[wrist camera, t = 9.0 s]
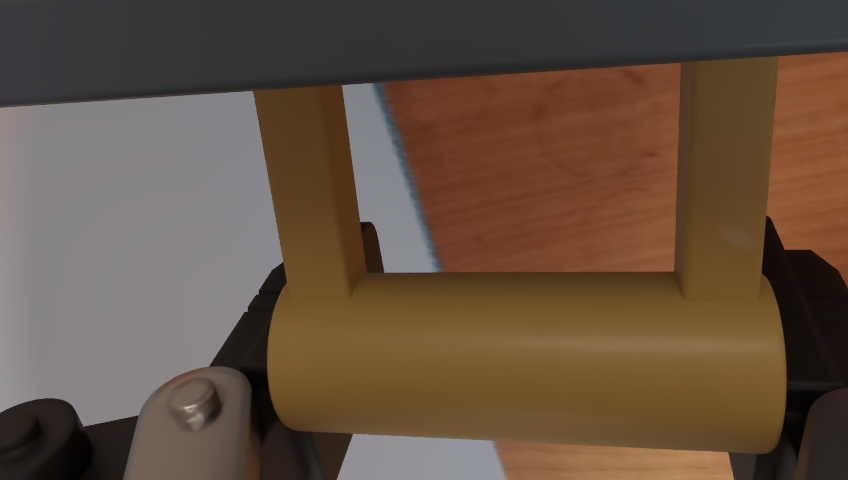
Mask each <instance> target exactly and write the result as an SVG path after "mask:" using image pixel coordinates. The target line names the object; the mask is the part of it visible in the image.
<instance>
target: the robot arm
mask: <svg viewBox="0 0 848 480" xmlns="http://www.w3.org/2000/svg"><path fill="white" fill-rule="evenodd" d="M360 226H361V233H362V241H363V248H364V256H365V263H366V271H367V273H384V268H383V263H382V257H381V252H380V247H379V241H378V236H377V232H376V229H375V227H374V225H373V224H372V223H371V222H360ZM762 274H763V275H764V276H765V277H766V278H767V280H768V281H769V283H770V285H771V287H772V290H773V292H774V295H775V298H776V301H777V304H778V308H779V312H780V317H781V322H782V328H783V335H784V343H785V353H786V371H787V391H786V408H785V417H784V423H783V428H782V432H781V435H780V439H779V441H778V444H777V446H776V448H775V449H774V450H773V451H772V452H769V453H766V454H754V453H734V452H728V453H729V458H730V462H731V467H732V471H733V476H734V480H848V288H847V286H846V284H845V282H844V280H843V279H842V277H841V275H840V273H839V271H838V270H837V269H835V268H834V267H833V266H831V265H830V264H829V263H827V262H826V261H825V260H823V259H822V258H821V257H819V256H818V255H817V254H815V253H814V252H813V251H811V250H785V249H784V247H783V245H782V243H781V240H780V238H779V236H778V234H777V231H776V229H775V227H774V225H773V222H772V220H771V218H770V217H769V216H766V223H765V236H764V248H763V261H762ZM286 284H287V279H286V273H285V268H284V262H283V263H281V264H280V265H279V266H277V267H276V268H275V269H273V270H272V271H271V273H270V274H269V276H268V278H267V279H266V280H265V282H264V283H263V285H262V287H261V288H260V290H259V295H256V296H255V297H254V299H253V300H252V302H251V303H250V305H249V306H248V312H245V313H244V314H243V316H242V317H241V319H240V320H239V322H238V323H237V325H236V327H235V328H234V329H233V331H232V332H231V334H230V336H229V337H228V338H227V340H226V342H225V343H224V345H223V346H222V348H221V349H220V351H219V352H218V354H217V355H216V357H215V358H214V360H213V361H212V363H211V364H210V366H209V367H205V368H199V369H196V370H192V371H189V372H186V373H184V374H181V375H179V376H177V377H175V378H173V379H171V380H170V381H168V382H166V383H165V384H164V385H162V386H161V387H160V388H158V389H157V390H156V391H155V392H154V393H153V394H152V395H151V396H150V397H149V398H148V399H147V401H146V402H145V404H144V405H143V407H142V409H141V411H140V414H139V415H138V416H134V417H129V418H124V419H119V420H114V421H110V422H105V423H100V424H95V425H90V426H85V427H83V425H82V423H81V421H80V419H79V417H78V415H77V413H76V411H75V409H74V408H73V406H72V405H70V404H69V403H68V402H66V401H63V400H60V399H53V398H52V399H51V398H49V399H48V398H46V399H37V400H33V401H28V402H25V403H22V404H19V405H16V406H14V407H11V408H9V409H7V410H5V411H3V412H1V413H0V480H337V477H338V474H339V471H340V469H341V466H342V463H343V460H344V457H345V455H346V452H347V449H348V446H349V443H350V441H351V438H352V435H353V434H350V433H330V432H310V431H295V430H292V429H290V428H288V427H287V426H285V425H284V424H283V423H282V422H281V421H280V419H279V417H278V416H277V414H276V411H275V409H274V406H273V403H272V399H271V395H270V390H269V384H268V374H267V348H268V337H269V330H270V325H271V320H272V316H273V312H274V308H275V305H276V303H277V300H278V298H279V295H280V293H281V291H282V290H283V288H284V286H285V285H286Z"/></svg>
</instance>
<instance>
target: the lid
mask: <svg viewBox="0 0 848 480" xmlns="http://www.w3.org/2000/svg"><path fill="white" fill-rule="evenodd" d="M847 51H848V0H0V108H1V107H16V106H31V105H45V104H61V103H75V102H91V101H106V100H121V99H136V98H151V97H167V96H181V95H196V94H212V93H227V92H242V91H253V92H254V98H255V104H256V109H257V115H258V120H259V126H260V132H261V138H262V143H263V149H264V155H265V160H266V165H267V171H268V177H269V183H270V188H271V194H272V199H273V205H274V211H275V217H276V222H277V228H278V234H279V239H280V245H281V251H282V256H283V262H284V268H285V273H286V279H287V284H286V285H285V286H284V288H283V290H282V291H281V293H280V295H279V298H278V300H277V303H276V305H275V308H274V312H273V316H272V320H271V325H270V330H269V337H268V348H267V374H268V384H269V390H270V395H271V399H272V403H273V406H274V409H275V411H276V414H277V416H278V417H279V419H280V421H281V422H282V423H283V424H284V425H285V426H287V427H288V428H290V429H292V430H295V431H310V432H330V433H350V434H370V435H371V434H372V435H391V436H411V437H431V438H451V439H472V440H492V441H512V442H532V443H552V444H573V445H593V446H613V447H633V448H653V449H674V450H694V451H714V452H734V453H754V454H766V453H769V452H772V451H773V450H774V449H775V448H776V446H777V444H778V441H779V439H780V435H781V432H782V428H783V423H784V417H785V408H786V391H787V371H786V353H785V343H784V335H783V328H782V322H781V317H780V312H779V308H778V304H777V301H776V298H775V295H774V292H773V290H772V287H771V285H770V283H769V281H768V280H767V278H766V277H765V276H764V275H763V274H762V261H763V248H764V236H765V223H766V211H767V198H768V186H769V173H770V160H771V148H772V135H773V123H774V110H775V98H776V85H777V72H778V60H779V56H787V55H802V54H817V53H832V52H847ZM666 63H681V82H680V113H679V143H678V174H677V205H676V236H675V266H674V272H462V273H367V271H366V263H365V256H364V248H363V241H362V233H361V226H360V218H359V211H358V203H357V196H356V188H355V181H354V173H353V166H352V158H351V150H350V143H349V135H348V128H347V121H346V113H345V105H344V99H343V91H342V85H347V84H363V83H379V82H394V81H409V80H424V79H439V78H454V77H470V76H485V75H500V74H515V73H530V72H545V71H560V70H575V69H590V68H606V67H621V66H636V65H651V64H666Z"/></svg>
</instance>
